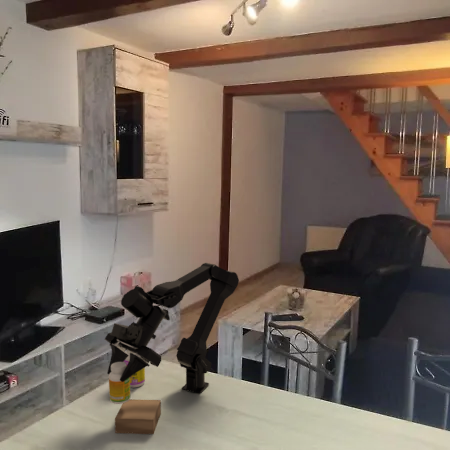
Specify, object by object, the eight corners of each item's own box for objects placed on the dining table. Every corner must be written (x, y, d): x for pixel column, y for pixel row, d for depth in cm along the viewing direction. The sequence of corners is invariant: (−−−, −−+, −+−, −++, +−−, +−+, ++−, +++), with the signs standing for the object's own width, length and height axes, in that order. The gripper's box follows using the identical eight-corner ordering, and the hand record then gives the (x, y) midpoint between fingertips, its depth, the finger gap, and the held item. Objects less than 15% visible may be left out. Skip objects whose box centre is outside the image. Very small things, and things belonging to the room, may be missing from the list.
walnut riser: (125, 412, 133) (124, 399, 132) (160, 413, 132) (160, 400, 132) (115, 433, 123) (114, 418, 123) (153, 434, 123) (153, 419, 122)
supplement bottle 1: (128, 404, 124) (126, 369, 123) (107, 404, 124) (105, 369, 123) (132, 394, 130) (130, 360, 128) (112, 394, 130) (110, 360, 128)
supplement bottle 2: (119, 386, 149) (118, 346, 147) (131, 377, 155) (130, 339, 153) (137, 390, 146) (136, 349, 144) (149, 380, 152) (148, 342, 151)
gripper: (108, 304, 133) (75, 354, 126) (150, 319, 120) (115, 375, 114) (133, 323, 139) (102, 372, 133) (175, 339, 127) (143, 394, 121)
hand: (114, 377), depth 125 cm, fingers closed on supplement bottle 1, 5 cm apart
